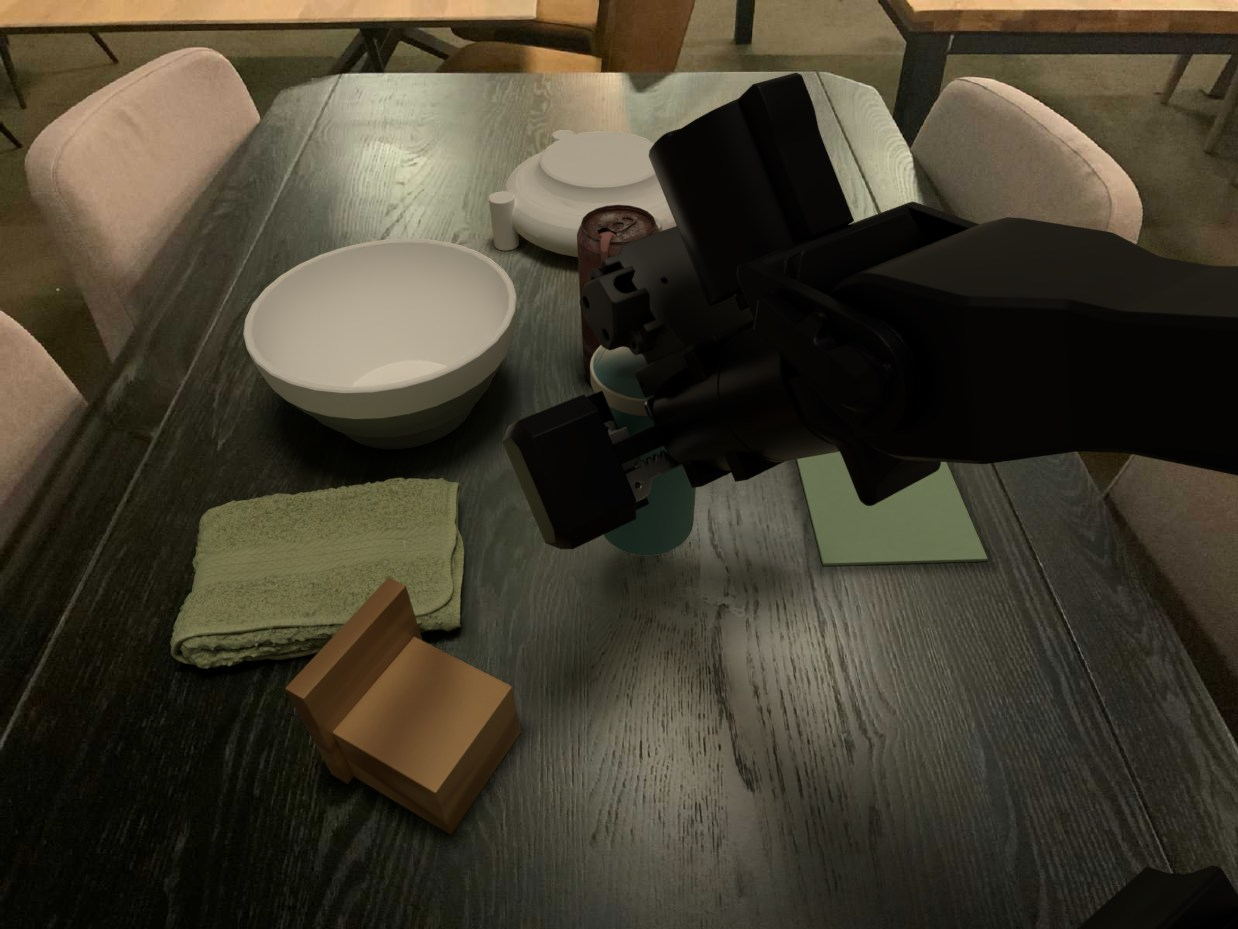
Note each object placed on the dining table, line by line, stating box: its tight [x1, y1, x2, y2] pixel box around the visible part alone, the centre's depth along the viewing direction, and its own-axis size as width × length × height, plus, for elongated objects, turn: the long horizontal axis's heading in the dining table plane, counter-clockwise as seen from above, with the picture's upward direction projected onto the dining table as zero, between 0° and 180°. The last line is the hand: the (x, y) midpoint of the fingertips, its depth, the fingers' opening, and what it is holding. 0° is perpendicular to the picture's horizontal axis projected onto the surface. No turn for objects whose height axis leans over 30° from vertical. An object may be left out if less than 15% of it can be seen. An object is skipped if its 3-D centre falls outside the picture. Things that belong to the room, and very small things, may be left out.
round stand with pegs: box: [488, 129, 677, 258], centre depth 87 cm, size 24×24×7 cm
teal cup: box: [590, 345, 697, 557], centre depth 48 cm, size 6×6×12 cm
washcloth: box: [170, 477, 465, 669], centre depth 56 cm, size 13×18×3 cm
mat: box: [795, 452, 989, 567], centre depth 61 cm, size 11×11×1 cm
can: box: [577, 205, 660, 383], centre depth 67 cm, size 6×6×14 cm
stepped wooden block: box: [285, 577, 521, 835], centre depth 45 cm, size 8×8×9 cm
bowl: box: [243, 237, 518, 450], centre depth 66 cm, size 20×20×10 cm
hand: (634, 437), depth 49 cm, fingers closed on teal cup, 6 cm apart
